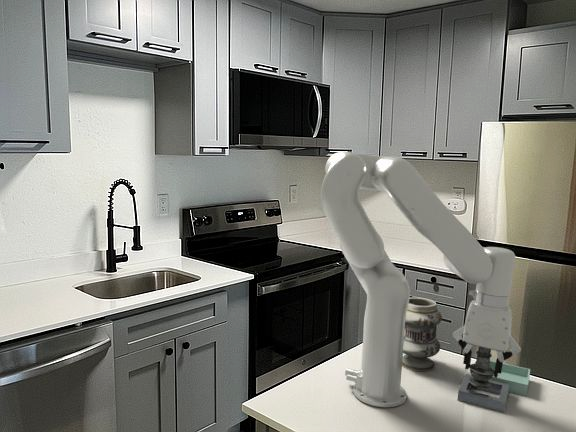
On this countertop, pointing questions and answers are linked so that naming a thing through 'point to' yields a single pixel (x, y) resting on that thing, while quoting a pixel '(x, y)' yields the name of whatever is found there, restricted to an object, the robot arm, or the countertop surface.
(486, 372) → the salt shaker
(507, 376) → the tray
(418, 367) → the apothecary jar
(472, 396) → the grey square frame
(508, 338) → the robot arm
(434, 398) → the countertop surface
